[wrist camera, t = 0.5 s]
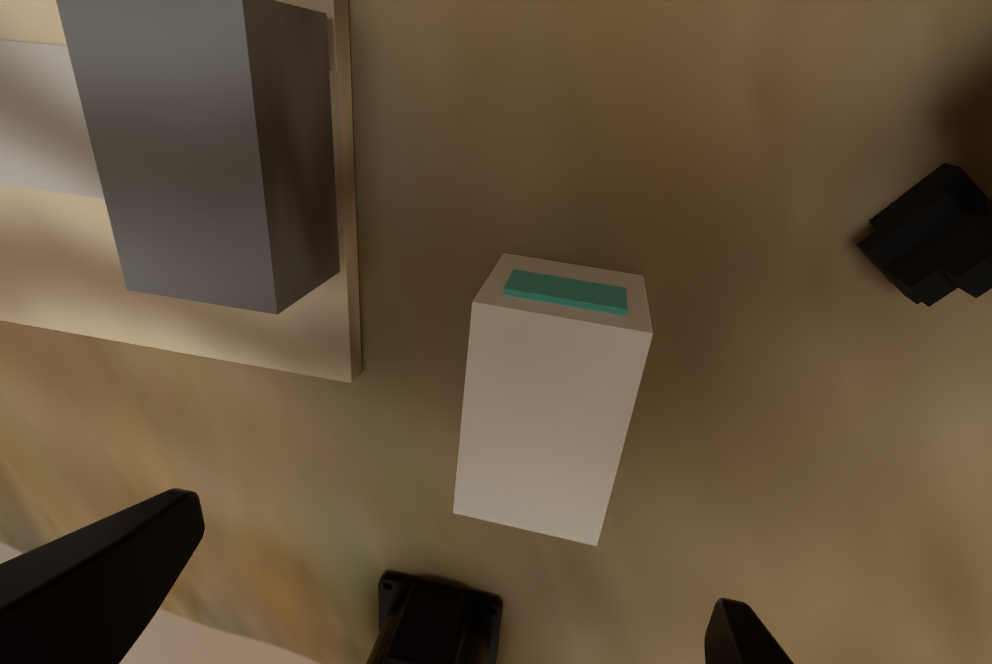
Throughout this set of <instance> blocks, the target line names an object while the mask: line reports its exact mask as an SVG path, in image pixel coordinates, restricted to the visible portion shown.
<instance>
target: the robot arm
mask: <svg viewBox="0 0 992 664" xmlns="http://www.w3.org/2000/svg"><path fill="white" fill-rule="evenodd" d="M204 529H205V524H204V519H203V514H202V509H201V505H200V500H199V496H198V495H197V494H196V493H195V492H193V491H189V490H184V489H178V488H174V489H170V490H167V491H165V492H163V493H160V494H158V495H156V496H154V497H151V498H149V499H147V500H145V501H142V502H140V503H138V504H136V505H133V506H131V507H129V508H126V509H124V510H122V511H120V512H117V513H115V514H113V515H111V516H108V517H106V518H104V519H101V520H99V521H97V522H95V523H92V524H90V525H88V526H86V527H83V528H81V529H79V530H77V531H74V532H72V533H70V534H67V535H65V536H63V537H61V538H58V539H56V540H54V541H52V542H49V543H47V544H45V545H42V546H40V547H38V548H36V549H33V550H31V551H29V552H27V553H24V554H22V555H20V556H18V557H15V558H13V559H11V560H8V561H6V562H4V563H2V564H0V664H119V663H120V662H121V660H122V659H123V658H124V656H125V655H126V653H127V652H128V651H129V649H130V648H131V647H132V646H133V644H134V643H135V641H136V640H137V639H138V638H139V636H140V635H141V633H142V632H143V631H144V629H145V628H146V626H147V625H148V623H149V622H150V621H151V619H152V618H153V616H154V615H155V613H156V612H157V610H158V609H159V607H160V606H161V604H162V602H163V601H164V599H165V597H166V596H167V594H168V593H169V591H170V589H171V588H172V586H173V585H174V583H175V581H176V580H177V578H178V577H179V575H180V573H181V572H182V570H183V569H184V567H185V565H186V564H187V562H188V560H189V559H190V557H191V556H192V554H193V552H194V551H195V549H196V548H197V546H198V544H199V543H200V541H201V539H202V537H203V534H204ZM378 591H379V629H380V632H379V635H378V637H377V640H376V642H375V644H374V647H373V649H372V651H371V654H370V656H369V659H368V661H367V663H366V664H496V657H497V649H498V642H499V634H500V626H501V618H502V610H503V603H502V602H501V600H499V599H498V598H495V597H492V596H487V595H483V594H479V593H474V592H470V591H466V590H461V589H457V588H453V587H448V586H444V585H440V584H435V583H431V582H427V581H422V580H418V579H414V578H409V577H405V576H401V575H396V574H392V573H384V574H383V575H382V576H381V578H380V581H379V583H378ZM704 647H705V661H706V664H794V663H793V662H792V661H791V659H790V658H789V657H788V655H787V654H786V653H785V651H784V650H783V649H782V648H781V646H780V645H779V644H778V642H777V641H776V640H775V638H774V637H773V636H772V635H771V633H770V632H769V631H768V629H767V628H766V627H765V625H764V624H763V623H762V622H761V620H760V619H759V618H758V616H757V615H756V614H755V612H754V611H753V610H752V609H751V607H750V606H749V605H747V604H746V603H744V602H741V601H736V600H731V599H726V598H720V599H718V600H717V602H716V604H715V607H714V610H713V612H712V615H711V618H710V621H709V624H708V627H707V630H706V634H705V645H704Z"/></svg>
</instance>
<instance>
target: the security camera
mask: <svg viewBox="0 0 992 664" xmlns="http://www.w3.org/2000/svg"><path fill="white" fill-rule="evenodd" d="M869 221H870V222H871V223H872V224H873V225H874V226H875V227H876V229H877V230H875V231H874V232H873V233H871V234H870V235H869V236H867V237H866V238H865V239H863V240H862V241H861V242H859V243H858V244H857V246H858V247H859V248H860V249H861V250H862V252H863V253H864V254H865V255H866V256H867V257H868V258H869V259H870V260H871V261H872V262H873V263H874V264H875V265H876V266H877V267H878V268H879V269H880V270H881V271H882V272H883V273H884V274H885V275H886V277H887V278H888V279H889V280H890V281H891V282H892V283H893V284H894V285H895V286H896V287H897V288H898V289H899V290H900V291H901V292H902V293H903V294H904V295H905V296H906V297H908V298H909V299H910V300H912V301H913V302H915V303H916V304H919V303H920V302H923V303H924V304H926V305H927V306H931V305H932V304H934V303H935V302H937V301H938V300H940V299H941V298H943V297H944V296H946V295H948V294H949V293H951V292H952V291H954V290H955V289H957V288H960V289H962V290H963V291H965V292H967V293H968V294H970V295H972V296H974V297H975V298H977V297H979V296H980V295H982V294H983V293H985V292H987V291H988V290H990V289H991V288H992V198H991V199H990V200H989V199H988V198H987V197H986V196H985V195H984V193H983V192H982V191H981V190H980V189H979V188H978V187H977V186H976V184H975V183H974V182H973V181H972V180H971V179H970V178H969V177H968V175H967V174H966V173H965V172H964V171H963V170H962V169H961V168H960V167H959V166H954V165H950V164H946V163H944V164H942V165H941V166H940V167H938V168H937V169H936V170H935V171H933V172H932V173H931V174H929V175H928V176H927V177H925V178H924V179H923V180H922V181H920V182H919V183H918V184H916V185H915V186H914V187H912V188H911V189H910V190H909V191H907V192H906V193H905V194H903V195H902V196H901V197H899V198H898V199H897V200H895V201H894V202H893V203H892V204H890V205H889V206H888V207H886V208H885V209H884V210H882V211H881V212H880V213H879V214H877V215H876V216H875V217H873V218H872V219H871V220H869Z"/></svg>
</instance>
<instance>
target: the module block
mask: <svg viewBox="0 0 992 664" xmlns="http://www.w3.org/2000/svg"><path fill="white" fill-rule="evenodd" d="M652 336H653V329H652V324H651V318H650V312H649V306H648V300H647V294H646V288H645V283H644V277H643V275H637V274H631V273H625V272H619V271H613V270H606V269H600V268H594V267H588V266H582V265H576V264H569V263H563V262H557V261H551V260H545V259H538V258H532V257H526V256H520V255H514V254H507V253H503V255H502V256H501V258H500V259H499V261H498V262H497V264H496V266H495V267H494V269H493V270H492V272H491V273H490V275H489V276H488V278H487V280H486V281H485V283H484V284H483V286H482V287H481V289H480V290H479V292H478V294H477V295H476V297H475V298H474V300H473V301H472V311H471V321H470V332H469V343H468V354H467V365H466V376H465V387H464V398H463V409H462V419H461V430H460V441H459V452H458V463H457V474H456V485H455V496H454V506H453V513H455V514H459V515H464V516H468V517H473V518H477V519H481V520H486V521H490V522H494V523H499V524H503V525H507V526H512V527H516V528H520V529H525V530H529V531H533V532H538V533H542V534H546V535H551V536H555V537H559V538H564V539H568V540H572V541H577V542H581V543H585V544H590V545H594V546H597V544H598V540H599V537H600V533H601V529H602V525H603V521H604V518H605V514H606V510H607V506H608V502H609V499H610V495H611V491H612V487H613V484H614V480H615V476H616V472H617V468H618V465H619V461H620V457H621V453H622V450H623V446H624V442H625V438H626V434H627V431H628V427H629V423H630V419H631V415H632V412H633V408H634V404H635V400H636V397H637V393H638V389H639V385H640V381H641V378H642V374H643V370H644V366H645V362H646V359H647V355H648V351H649V347H650V344H651V340H652Z"/></svg>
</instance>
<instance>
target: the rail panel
mask: <svg viewBox="0 0 992 664" xmlns="http://www.w3.org/2000/svg"><path fill="white" fill-rule="evenodd" d="M0 320H2V321H8V322H14V323H19V324H25V325H30V326H36V327H41V328H47V329H53V330H58V331H64V332H69V333H75V334H80V335H86V336H92V337H97V338H103V339H108V340H114V341H119V342H125V343H131V344H136V345H142V346H147V347H153V348H158V349H164V350H170V351H175V352H181V353H186V354H192V355H197V356H203V357H208V358H214V359H220V360H225V361H231V362H236V363H242V364H247V365H253V366H259V367H264V368H270V369H275V370H281V371H286V372H292V373H298V374H303V375H309V376H314V377H320V378H325V379H331V380H337V381H342V382H348V383H352V382H353V381H354V380H355V379H356V378H357V377H358V375H359V374H360V373H361V372H362V360H361V333H360V306H359V279H358V252H357V225H356V198H355V171H354V144H353V117H352V90H351V63H350V36H349V9H348V0H0Z"/></svg>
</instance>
